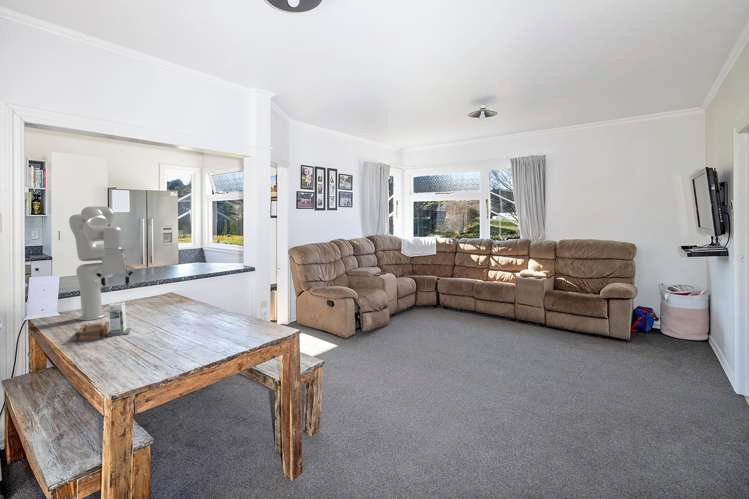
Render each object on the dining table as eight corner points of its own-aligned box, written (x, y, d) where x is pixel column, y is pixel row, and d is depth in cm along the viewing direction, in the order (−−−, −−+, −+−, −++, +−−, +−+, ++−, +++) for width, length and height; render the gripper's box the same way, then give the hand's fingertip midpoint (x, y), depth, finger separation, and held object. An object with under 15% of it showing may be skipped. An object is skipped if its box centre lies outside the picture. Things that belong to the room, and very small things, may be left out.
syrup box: (110, 333, 192) (108, 305, 190) (114, 330, 198) (112, 302, 196) (123, 332, 194) (121, 304, 192) (126, 329, 199) (125, 301, 198)
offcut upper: (88, 327, 196) (87, 323, 195) (102, 325, 198) (102, 322, 198) (86, 329, 191) (85, 326, 191) (100, 328, 194) (100, 324, 194)
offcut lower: (89, 332, 196) (88, 327, 196) (103, 331, 199) (102, 325, 198) (86, 335, 192) (86, 330, 191) (101, 334, 194) (100, 328, 194)
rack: (83, 332, 196) (83, 324, 196) (109, 329, 201) (108, 321, 201) (75, 341, 182) (75, 333, 182) (103, 338, 187) (103, 330, 187)
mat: (110, 331, 198) (110, 330, 198) (130, 328, 202) (130, 327, 202) (107, 336, 189) (107, 335, 189) (128, 334, 193) (128, 332, 193)
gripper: (134, 250, 200) (136, 282, 201) (94, 251, 192) (96, 285, 194) (132, 251, 193) (134, 285, 195) (90, 253, 185) (93, 288, 187)
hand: (115, 285), depth 194 cm, fingers open, 9 cm apart
